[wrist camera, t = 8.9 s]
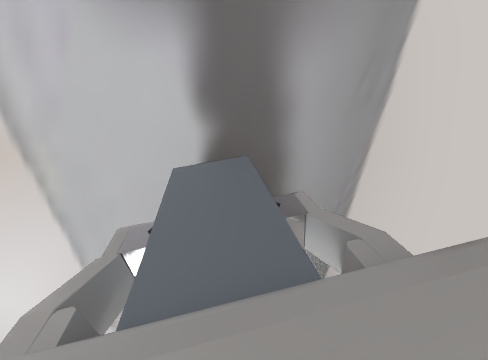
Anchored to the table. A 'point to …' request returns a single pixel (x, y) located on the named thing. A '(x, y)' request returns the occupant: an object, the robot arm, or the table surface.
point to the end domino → (214, 245)
